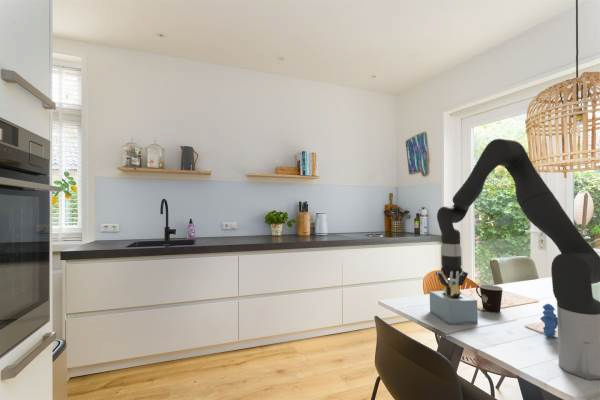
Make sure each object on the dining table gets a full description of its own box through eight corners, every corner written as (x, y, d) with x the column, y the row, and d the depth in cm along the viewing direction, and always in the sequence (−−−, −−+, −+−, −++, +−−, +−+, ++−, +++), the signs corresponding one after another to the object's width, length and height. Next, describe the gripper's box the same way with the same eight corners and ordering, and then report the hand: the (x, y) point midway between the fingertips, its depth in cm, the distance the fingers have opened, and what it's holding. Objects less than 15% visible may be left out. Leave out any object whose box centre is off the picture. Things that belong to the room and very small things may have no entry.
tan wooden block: (461, 293, 120) (455, 282, 123) (454, 293, 119) (448, 282, 123) (455, 300, 124) (449, 289, 127) (448, 300, 123) (443, 290, 127)
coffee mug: (507, 314, 125) (506, 290, 126) (484, 313, 127) (484, 289, 127) (494, 304, 137) (494, 283, 137) (474, 304, 139) (473, 282, 139)
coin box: (477, 323, 117) (477, 300, 117) (448, 324, 116) (448, 301, 116) (456, 310, 131) (455, 290, 131) (430, 311, 130) (429, 291, 130)
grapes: (567, 347, 97) (566, 310, 97) (541, 341, 101) (540, 306, 101) (564, 334, 106) (563, 300, 106) (540, 329, 110) (539, 297, 110)
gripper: (440, 256, 119) (441, 299, 119) (472, 255, 120) (473, 297, 120) (430, 253, 127) (431, 293, 126) (461, 252, 128) (462, 292, 128)
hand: (452, 295), depth 123 cm, fingers closed on tan wooden block, 1 cm apart
